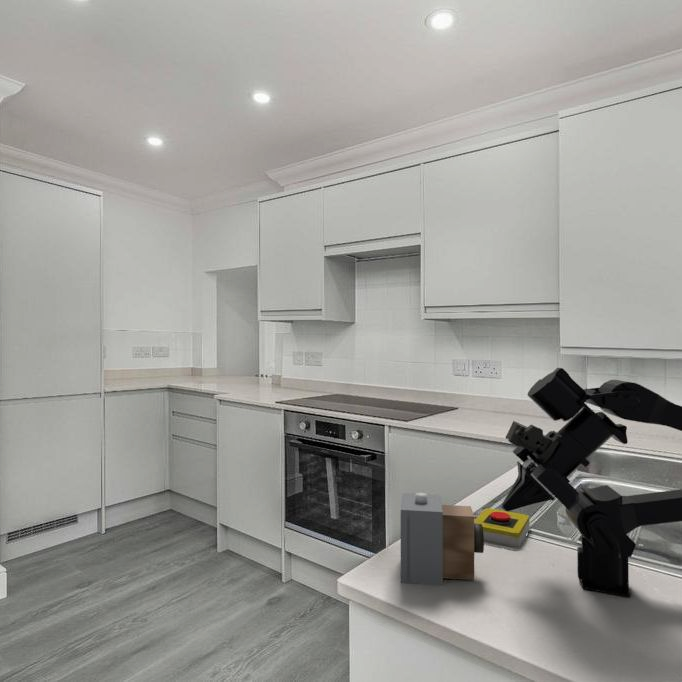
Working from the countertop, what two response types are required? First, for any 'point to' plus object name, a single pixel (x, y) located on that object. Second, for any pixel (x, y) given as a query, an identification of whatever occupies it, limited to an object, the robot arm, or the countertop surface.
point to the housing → (421, 539)
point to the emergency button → (503, 528)
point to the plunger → (460, 542)
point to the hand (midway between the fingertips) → (504, 508)
